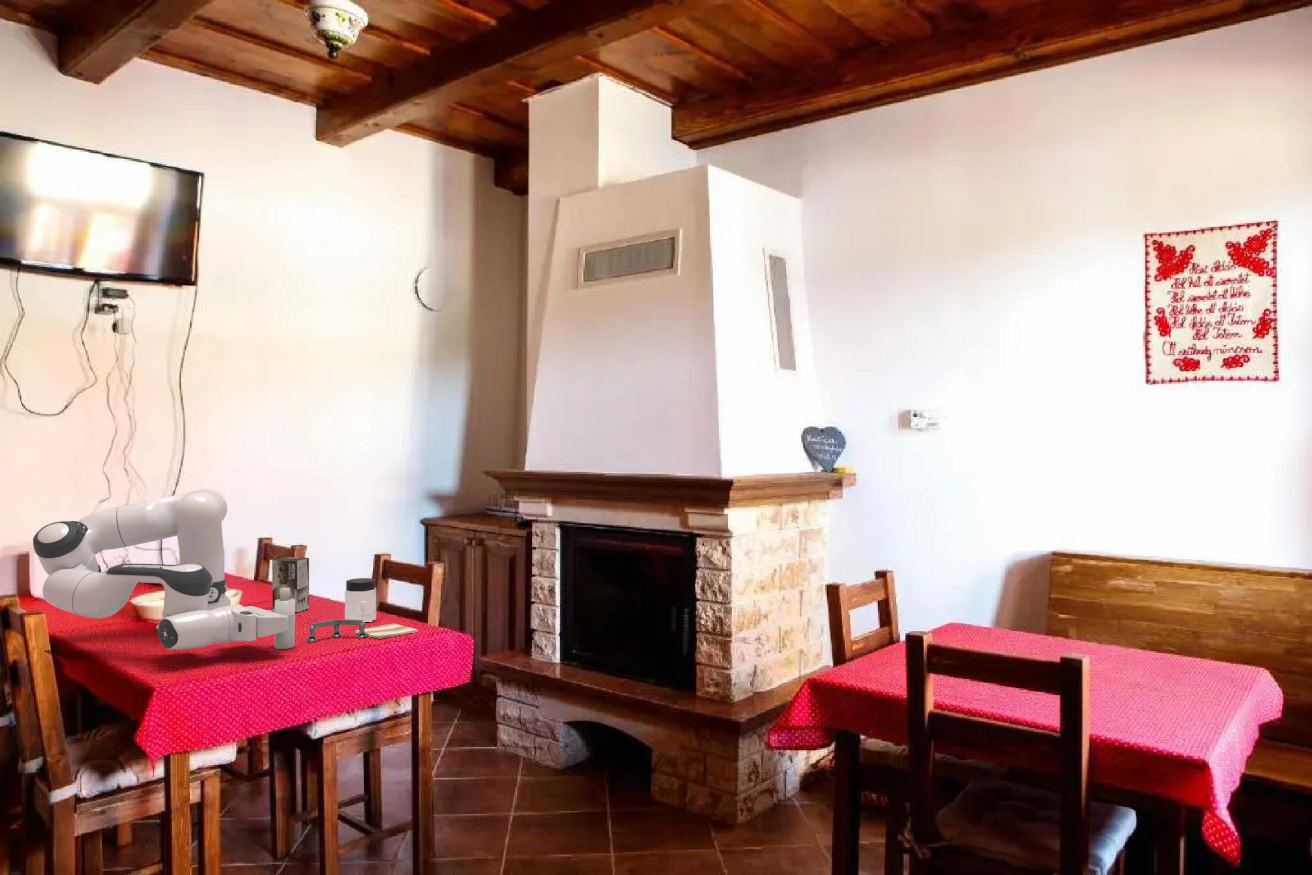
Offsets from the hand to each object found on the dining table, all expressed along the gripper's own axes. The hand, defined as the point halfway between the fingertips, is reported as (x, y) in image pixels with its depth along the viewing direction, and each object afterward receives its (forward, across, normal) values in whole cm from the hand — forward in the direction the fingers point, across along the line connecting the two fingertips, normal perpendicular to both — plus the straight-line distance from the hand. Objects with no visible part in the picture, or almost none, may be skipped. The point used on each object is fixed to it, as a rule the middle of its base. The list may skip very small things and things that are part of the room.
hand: (288, 614), depth 229 cm
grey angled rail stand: (+13, +2, -8) cm, 15 cm away
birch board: (+26, +5, -8) cm, 27 cm away
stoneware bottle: (-1, 0, -8) cm, 8 cm away
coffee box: (+23, -44, -8) cm, 50 cm away
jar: (+29, -14, -8) cm, 33 cm away
